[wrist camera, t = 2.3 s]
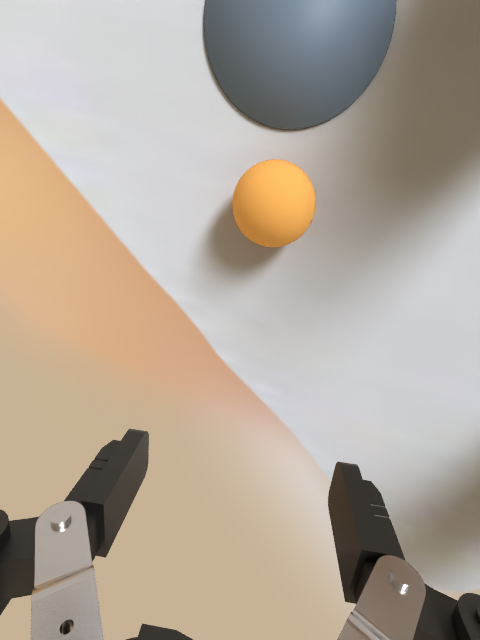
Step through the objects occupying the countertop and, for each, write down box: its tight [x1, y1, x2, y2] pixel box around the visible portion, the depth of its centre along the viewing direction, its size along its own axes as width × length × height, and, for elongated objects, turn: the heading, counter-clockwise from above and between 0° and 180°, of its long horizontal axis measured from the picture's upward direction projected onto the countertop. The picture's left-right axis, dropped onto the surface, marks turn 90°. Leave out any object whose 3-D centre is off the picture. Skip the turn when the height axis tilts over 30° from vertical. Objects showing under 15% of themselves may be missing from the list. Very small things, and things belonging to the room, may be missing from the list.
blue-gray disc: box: [204, 0, 396, 129], centre depth 23 cm, size 13×13×1 cm
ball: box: [232, 159, 316, 247], centre depth 24 cm, size 6×6×6 cm
